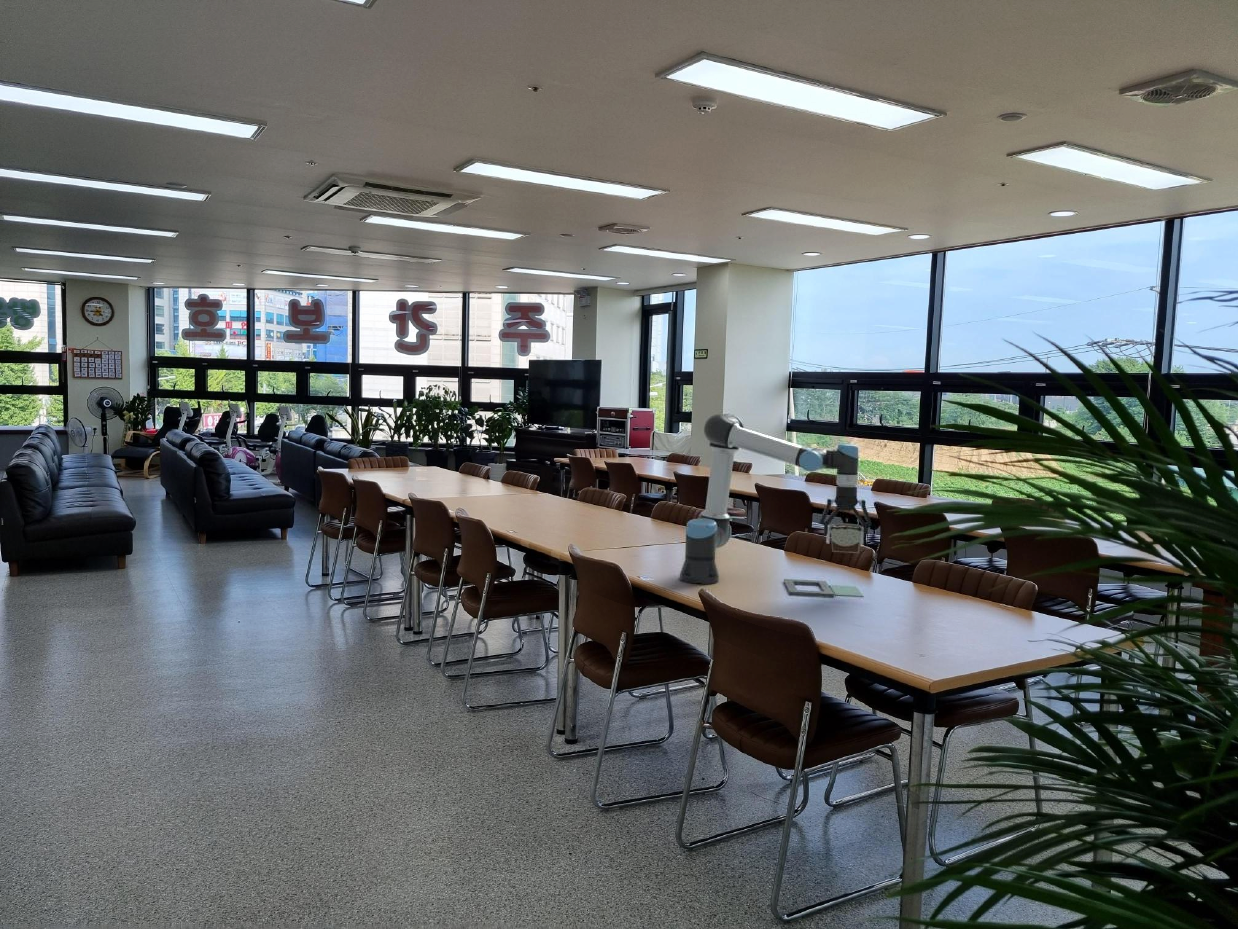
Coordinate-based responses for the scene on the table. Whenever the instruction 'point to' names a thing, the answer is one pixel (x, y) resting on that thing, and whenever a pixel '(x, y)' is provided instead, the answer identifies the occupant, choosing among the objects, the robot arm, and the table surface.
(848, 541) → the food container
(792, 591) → the grey rectangular frame
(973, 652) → the table surface
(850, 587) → the pad
